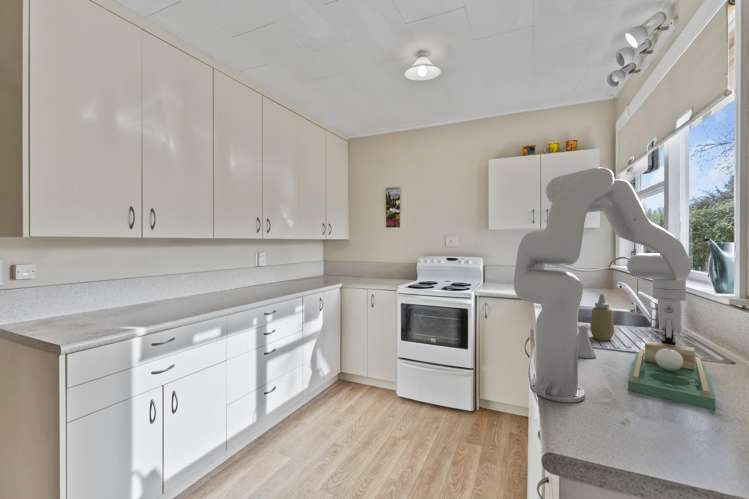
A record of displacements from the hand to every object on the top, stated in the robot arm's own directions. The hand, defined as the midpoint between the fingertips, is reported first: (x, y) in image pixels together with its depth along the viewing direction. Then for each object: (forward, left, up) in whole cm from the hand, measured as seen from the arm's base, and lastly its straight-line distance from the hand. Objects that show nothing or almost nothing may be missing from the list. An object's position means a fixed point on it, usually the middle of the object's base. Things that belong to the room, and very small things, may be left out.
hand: (668, 353), depth 102 cm
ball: (-10, 0, +1) cm, 10 cm away
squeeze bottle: (+25, +20, -5) cm, 32 cm away
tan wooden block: (-4, 0, -2) cm, 5 cm away
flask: (-2, +22, -5) cm, 23 cm away
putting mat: (-11, 0, -4) cm, 12 cm away
